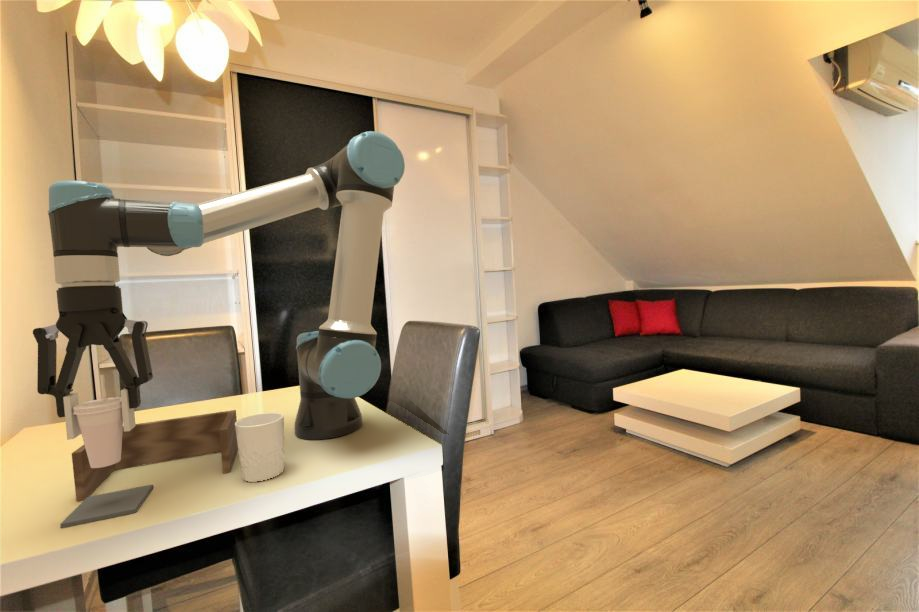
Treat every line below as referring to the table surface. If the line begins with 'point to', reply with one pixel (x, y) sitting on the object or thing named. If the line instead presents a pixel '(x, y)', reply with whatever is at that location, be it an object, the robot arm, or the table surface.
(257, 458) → the white cup
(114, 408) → the smoothie
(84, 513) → the mat
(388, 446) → the table surface
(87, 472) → the wooden enclosure
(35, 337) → the robot arm
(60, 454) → the table surface
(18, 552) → the table surface
